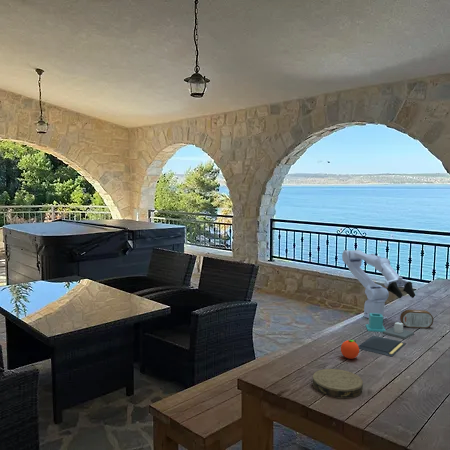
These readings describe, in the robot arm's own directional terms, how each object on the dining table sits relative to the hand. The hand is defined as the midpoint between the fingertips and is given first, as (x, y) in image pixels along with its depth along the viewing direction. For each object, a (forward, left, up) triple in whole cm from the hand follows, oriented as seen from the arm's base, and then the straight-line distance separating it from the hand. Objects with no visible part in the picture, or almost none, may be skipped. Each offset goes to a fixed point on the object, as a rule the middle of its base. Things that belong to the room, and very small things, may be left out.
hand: (407, 296), depth 199 cm
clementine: (0, -51, -17) cm, 53 cm away
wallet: (+2, -29, -17) cm, 34 cm away
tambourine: (+10, -77, -17) cm, 79 cm away
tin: (+1, +9, -17) cm, 19 cm away
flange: (-11, -9, -16) cm, 21 cm away
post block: (0, -8, -16) cm, 18 cm away
